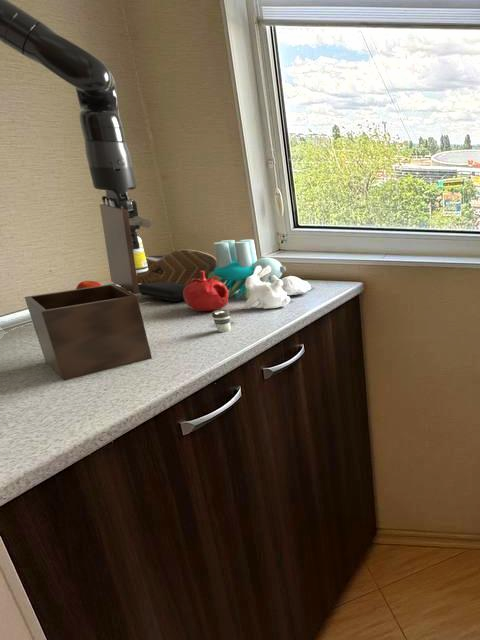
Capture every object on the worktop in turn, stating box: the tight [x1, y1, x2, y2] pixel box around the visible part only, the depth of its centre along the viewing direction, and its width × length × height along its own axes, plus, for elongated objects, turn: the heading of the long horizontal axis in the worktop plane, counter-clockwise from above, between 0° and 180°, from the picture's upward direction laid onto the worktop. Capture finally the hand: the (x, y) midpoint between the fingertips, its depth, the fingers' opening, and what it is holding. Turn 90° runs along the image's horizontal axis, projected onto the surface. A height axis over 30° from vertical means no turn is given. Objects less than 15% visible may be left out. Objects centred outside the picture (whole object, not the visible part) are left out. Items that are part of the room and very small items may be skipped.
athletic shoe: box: [137, 248, 218, 285], centre depth 149 cm, size 11×28×12 cm
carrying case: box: [138, 282, 187, 302], centre depth 136 cm, size 11×3×15 cm
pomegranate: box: [183, 271, 229, 312], centre depth 125 cm, size 10×10×9 cm
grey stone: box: [280, 275, 312, 296], centre depth 138 cm, size 9×8×5 cm
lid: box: [99, 203, 153, 295], centre depth 95 cm, size 14×13×5 cm
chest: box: [24, 283, 153, 382], centre depth 93 cm, size 14×13×13 cm
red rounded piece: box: [75, 280, 102, 289], centre depth 123 cm, size 6×6×8 cm
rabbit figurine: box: [238, 266, 291, 310], centre depth 127 cm, size 12×8×10 cm, turn 90°
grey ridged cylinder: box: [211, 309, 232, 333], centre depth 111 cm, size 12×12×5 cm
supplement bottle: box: [133, 235, 148, 273], centre depth 113 cm, size 5×5×10 cm
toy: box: [208, 238, 287, 301], centre depth 137 cm, size 12×22×15 cm, turn 95°
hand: (128, 246), depth 113 cm, fingers closed on supplement bottle, 5 cm apart
